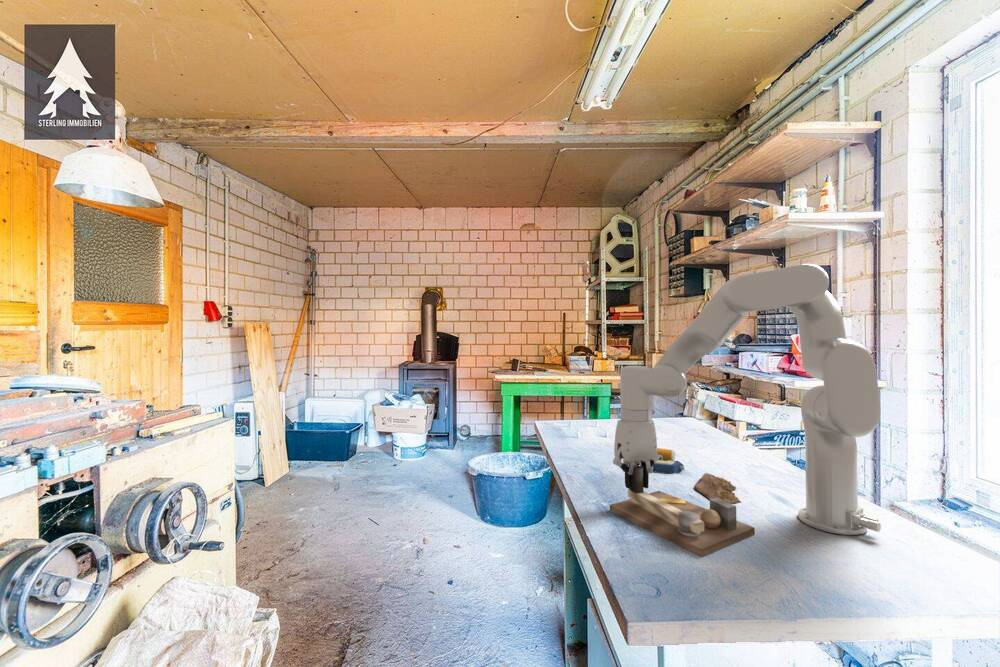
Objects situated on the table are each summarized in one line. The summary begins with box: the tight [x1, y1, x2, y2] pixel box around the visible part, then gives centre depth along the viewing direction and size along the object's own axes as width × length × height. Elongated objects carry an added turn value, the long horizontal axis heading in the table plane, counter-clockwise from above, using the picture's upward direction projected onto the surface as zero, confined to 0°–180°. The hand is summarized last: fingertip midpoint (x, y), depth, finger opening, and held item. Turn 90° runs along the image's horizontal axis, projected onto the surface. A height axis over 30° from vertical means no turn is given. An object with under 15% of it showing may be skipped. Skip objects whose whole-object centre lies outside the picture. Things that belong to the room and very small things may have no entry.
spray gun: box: [635, 447, 685, 474], centre depth 147 cm, size 21×4×15 cm
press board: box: [609, 490, 756, 558], centre depth 103 cm, size 26×18×6 cm
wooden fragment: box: [693, 472, 742, 505], centre depth 124 cm, size 26×11×1 cm, turn 158°
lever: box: [627, 464, 704, 533], centre depth 102 cm, size 22×4×8 cm, turn 22°
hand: (636, 487), depth 110 cm, fingers closed on lever, 3 cm apart
